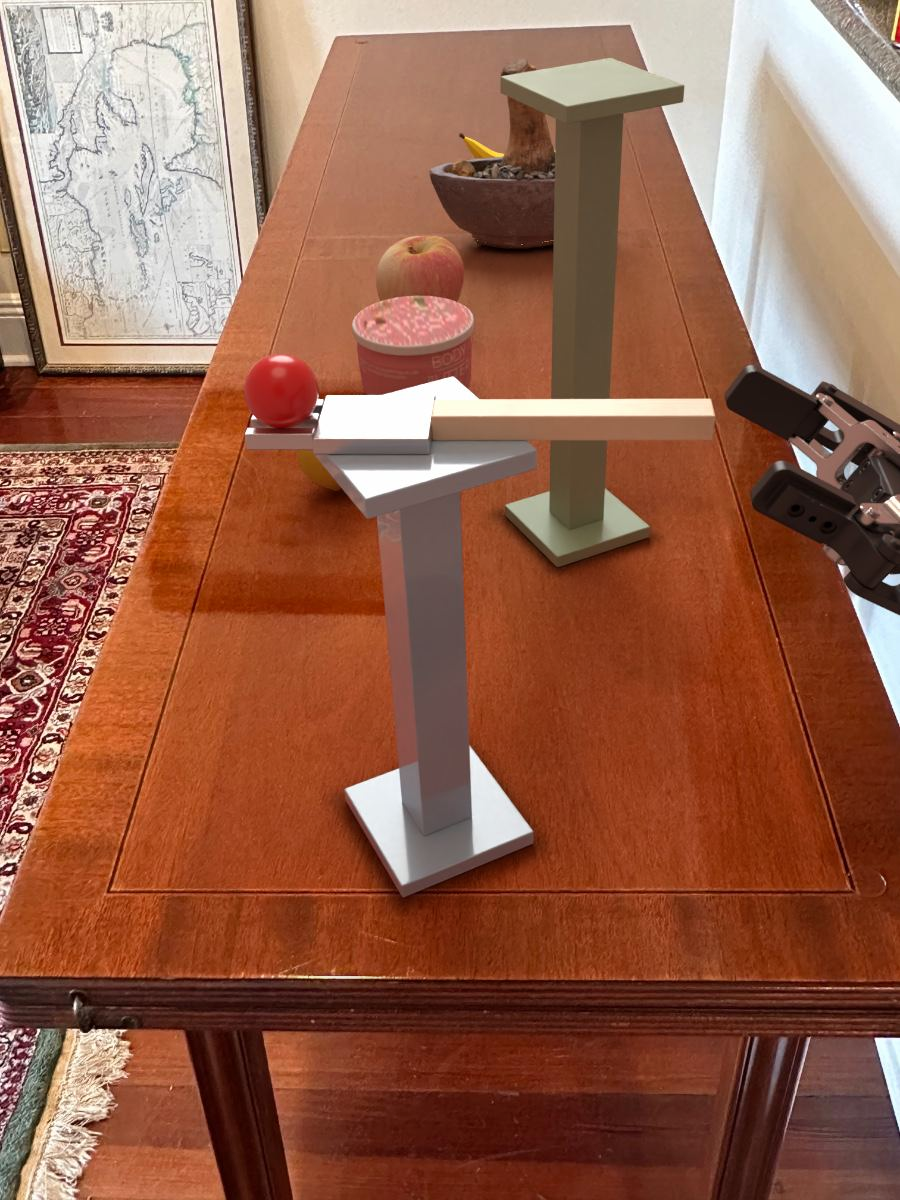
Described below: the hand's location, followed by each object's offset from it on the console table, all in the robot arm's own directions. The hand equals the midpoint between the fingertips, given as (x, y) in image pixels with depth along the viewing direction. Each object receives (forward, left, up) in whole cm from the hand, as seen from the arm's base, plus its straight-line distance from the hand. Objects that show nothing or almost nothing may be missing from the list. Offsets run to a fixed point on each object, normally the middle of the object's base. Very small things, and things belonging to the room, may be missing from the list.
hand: (748, 429), depth 51 cm
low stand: (+7, +12, -25) cm, 29 cm away
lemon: (+43, +4, -25) cm, 50 cm away
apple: (+69, -16, -25) cm, 75 cm away
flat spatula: (+6, +10, 0) cm, 12 cm away
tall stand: (+29, -10, -25) cm, 40 cm away
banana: (+101, -47, -25) cm, 114 cm away
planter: (+82, -35, -25) cm, 93 cm away
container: (+53, -8, -25) cm, 59 cm away
